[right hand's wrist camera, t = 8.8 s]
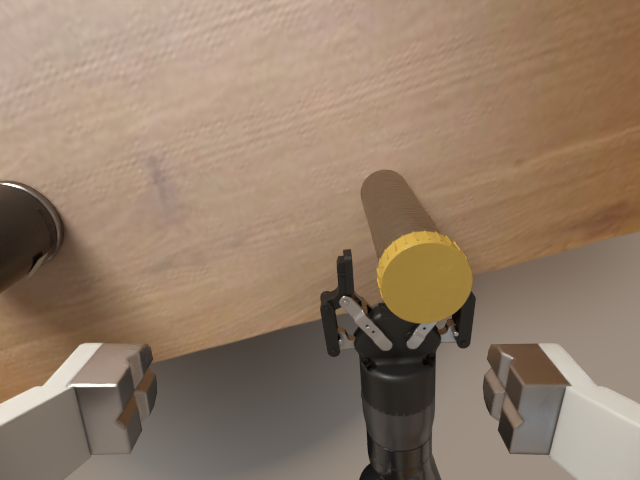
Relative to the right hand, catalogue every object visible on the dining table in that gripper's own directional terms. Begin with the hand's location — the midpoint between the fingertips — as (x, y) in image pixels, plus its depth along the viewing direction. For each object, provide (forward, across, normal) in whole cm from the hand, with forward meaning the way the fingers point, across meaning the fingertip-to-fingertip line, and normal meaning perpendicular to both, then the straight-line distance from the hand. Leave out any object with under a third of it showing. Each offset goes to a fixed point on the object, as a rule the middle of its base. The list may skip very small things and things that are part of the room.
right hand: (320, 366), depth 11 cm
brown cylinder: (+34, -6, +5) cm, 35 cm away
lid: (+15, -6, +5) cm, 17 cm away
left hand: (+28, -7, +8) cm, 30 cm away
